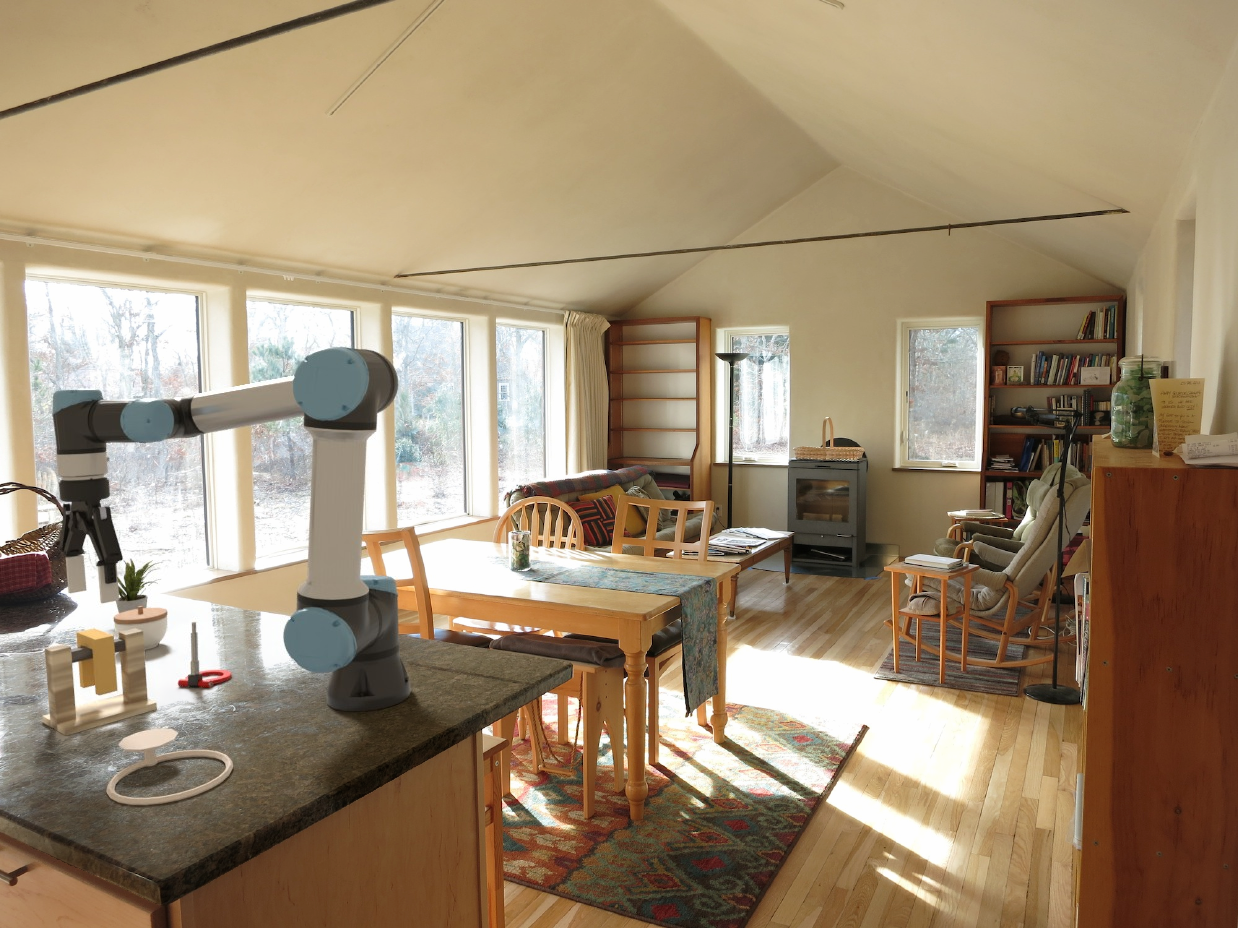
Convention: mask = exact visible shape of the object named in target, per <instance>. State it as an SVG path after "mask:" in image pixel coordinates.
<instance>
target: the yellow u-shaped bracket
mask: <svg viewBox="0 0 1238 928" xmlns="http://www.w3.org/2000/svg"><path fill="white" fill-rule="evenodd" d="M75 634H76V648H77V647H82V646H85V647H88V648H90V649H92V650H93V658H92V659H88V660H83V661H79V662H78V672H79V673H78V674H79V675H78V676H79V687H81V688H82V689H86V688H90V687H94V689H95V692H94V693H95V695H97V696H102V695H103V696H104V695H106V694H111V693H114V692H118V681H117V680H118V679H117V667H116V666H117V665H116V663H117V662H116V653H115V647H114V639H115V635H114V634H110V633H108V632H105V631H102V630H99V629H97V628H91V629H86V630H81V631H76V633H75Z"/></svg>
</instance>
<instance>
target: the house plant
mask: <svg viewBox="0 0 1238 928" xmlns="http://www.w3.org/2000/svg"><path fill="white" fill-rule="evenodd" d="M123 562H124V564H125V573H124V575H123V581H124V583H123V582H122V580H121V579H120V578H119V576H118V575H117V577H118V590H119V600H118V601H115V603H116V607H117V610H118V614H119V613H122V612H125V611H129V610H134V609H138V606H143V608H148V607H147V605H148V595H146V594H143V592H144V591H142V589H145V585H147V584H150V585H152V584H153V583H155V584H158V582H156V581H158V580H161V578H160V579H155V580H153V581H146V582H144V579H145V578H147V576H148V575H149V574H150V573H151V572H153V571H155V570H158V568H155V569H152V570H150V568H152V567H153V566H155V565H157V564H163V561H161V562H156V563H153V564H150V563H152V562H153V560H151V561H149V562H147V563H146V564H144V565H143V566H142V567H141V568H139V569H138V570H136V566H135V564H134V561H133V559H132V558H130V563H129V562H128V561H125V560H123ZM149 564H150V565H149ZM148 570H149V571H148ZM146 572H147V573H146ZM144 575H145V576H144ZM119 585H120V586H119ZM158 585H159V584H158ZM140 591H142V592H141V593H140V594H139V592H140Z"/></svg>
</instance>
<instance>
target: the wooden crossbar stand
mask: <svg viewBox="0 0 1238 928" xmlns="http://www.w3.org/2000/svg"><path fill="white" fill-rule="evenodd" d="M114 647H115V654H117V653H119V656H120V658H119V659H120V673H121V686H122V689H121V690H122V693H120V694H119V695H113V696H109V697H107V698H103V699H99V700H96V701H92V702H89V703H85V704H81V705H80V704H79V705H78V706H76V696H75V683H74V682H75V681H74V670H73V664H75V663H79V661H83V660H88V659H92V658H93V650H92V649H90V648H88V647H85V646H82V647H77V646H76V647H74V648H72V646H71V645H70V646H69V645H67V644H65V643H63V644H59V645H54V646H50V647H45V648H44V658H45V670H46V671H45V672H46V682H47V695H48V696H47V697H48V709H49V713H48V714H44V715H42V716H41V717H42V724H45V725H47V726H48V727H50V728H52V729H53V728H54V729H53V730H55V731H57V732H58V733H61V734H62V735H64V736H70V735H72V734H76V733H79V732H83V731H87V730H89V729H94V728H97V727H100V726H104V725H107V724H110V723H114V722H116V721H117V722H118V721H121V720H124V719H127V718H131V717H134V716H137V715H141V714H145V713H147V712H148V713H149V712H151V711H156V710H157V708H158V704H157V701H154V700H151V699H149V698H148V687H147V686H148V684H147V673H146V672H147V670H146V669H147V668H146V655H145V654H146V653H145V650H144V637H143V631H142V630H139V629H136V628H135V629H131V630H126V631H122V632H119V638H114Z"/></svg>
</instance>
